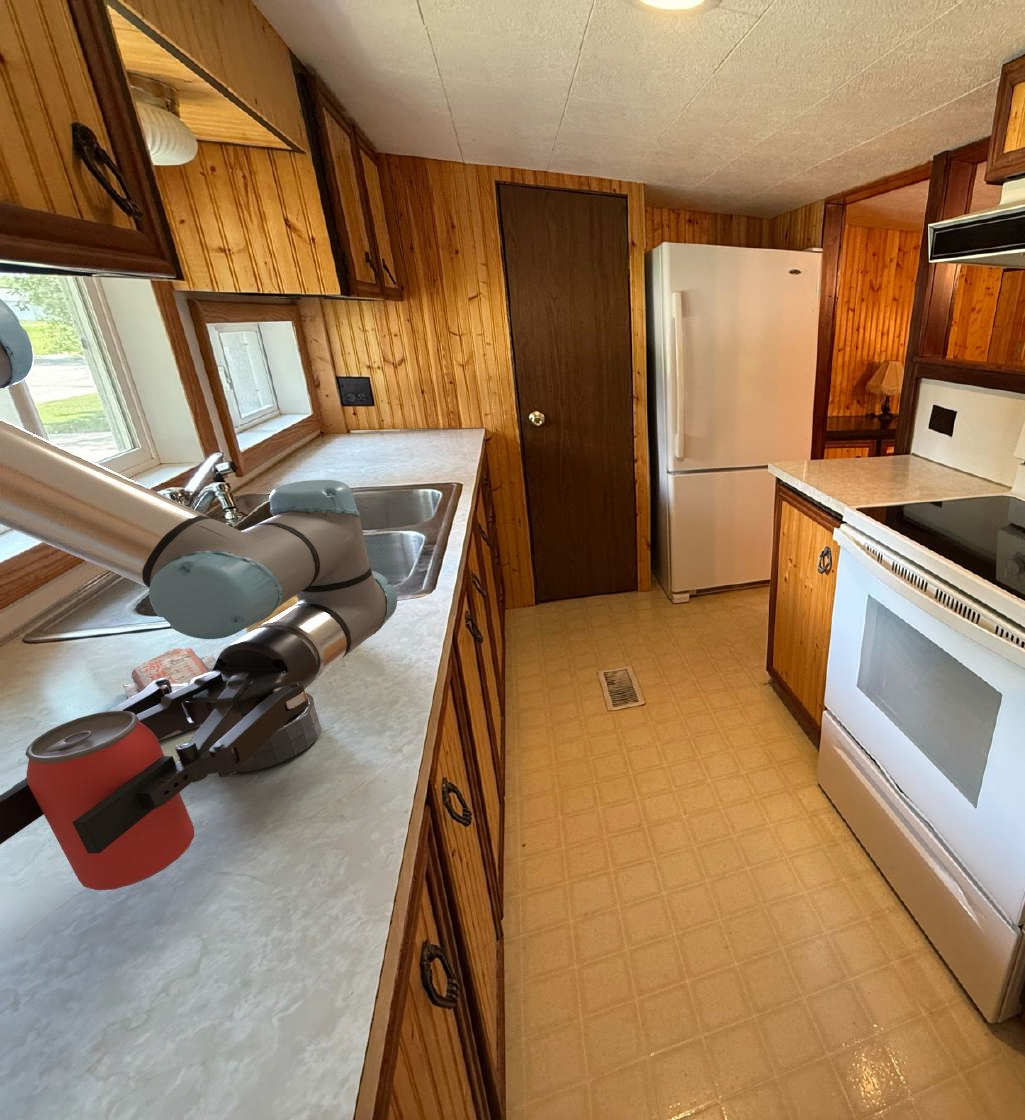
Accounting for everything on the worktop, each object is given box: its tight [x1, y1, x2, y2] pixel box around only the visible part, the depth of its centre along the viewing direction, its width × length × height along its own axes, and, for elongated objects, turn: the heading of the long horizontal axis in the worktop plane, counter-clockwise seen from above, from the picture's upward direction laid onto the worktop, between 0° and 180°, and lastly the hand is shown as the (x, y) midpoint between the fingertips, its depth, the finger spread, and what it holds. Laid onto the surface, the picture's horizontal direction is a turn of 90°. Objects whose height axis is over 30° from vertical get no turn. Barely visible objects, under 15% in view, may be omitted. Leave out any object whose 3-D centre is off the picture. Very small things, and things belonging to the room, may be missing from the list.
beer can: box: [25, 710, 195, 891], centre depth 45 cm, size 7×7×12 cm
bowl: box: [231, 691, 322, 773], centre depth 73 cm, size 11×11×4 cm
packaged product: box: [122, 647, 217, 742], centre depth 81 cm, size 18×5×10 cm
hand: (31, 836), depth 40 cm, fingers closed on beer can, 7 cm apart
